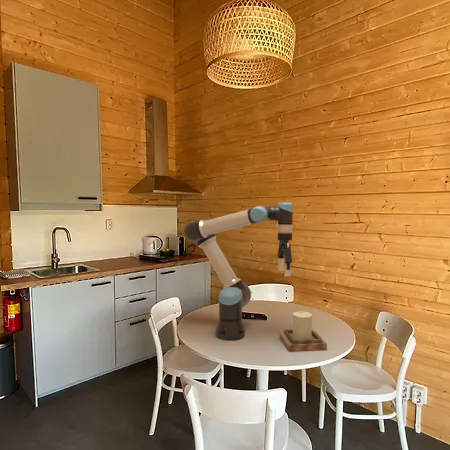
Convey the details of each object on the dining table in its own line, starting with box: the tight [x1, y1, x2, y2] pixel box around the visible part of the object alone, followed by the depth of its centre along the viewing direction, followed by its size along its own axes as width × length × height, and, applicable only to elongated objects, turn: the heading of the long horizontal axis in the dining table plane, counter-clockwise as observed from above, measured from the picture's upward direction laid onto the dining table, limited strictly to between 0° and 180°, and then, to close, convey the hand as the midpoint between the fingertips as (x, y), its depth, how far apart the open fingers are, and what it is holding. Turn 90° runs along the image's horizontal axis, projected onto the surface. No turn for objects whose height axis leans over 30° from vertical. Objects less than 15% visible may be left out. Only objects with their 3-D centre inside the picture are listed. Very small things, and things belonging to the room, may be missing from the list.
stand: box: [279, 329, 328, 353], centre depth 167 cm, size 18×16×4 cm
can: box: [292, 310, 313, 340], centre depth 166 cm, size 9×9×12 cm
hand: (284, 273), depth 180 cm, fingers open, 13 cm apart
